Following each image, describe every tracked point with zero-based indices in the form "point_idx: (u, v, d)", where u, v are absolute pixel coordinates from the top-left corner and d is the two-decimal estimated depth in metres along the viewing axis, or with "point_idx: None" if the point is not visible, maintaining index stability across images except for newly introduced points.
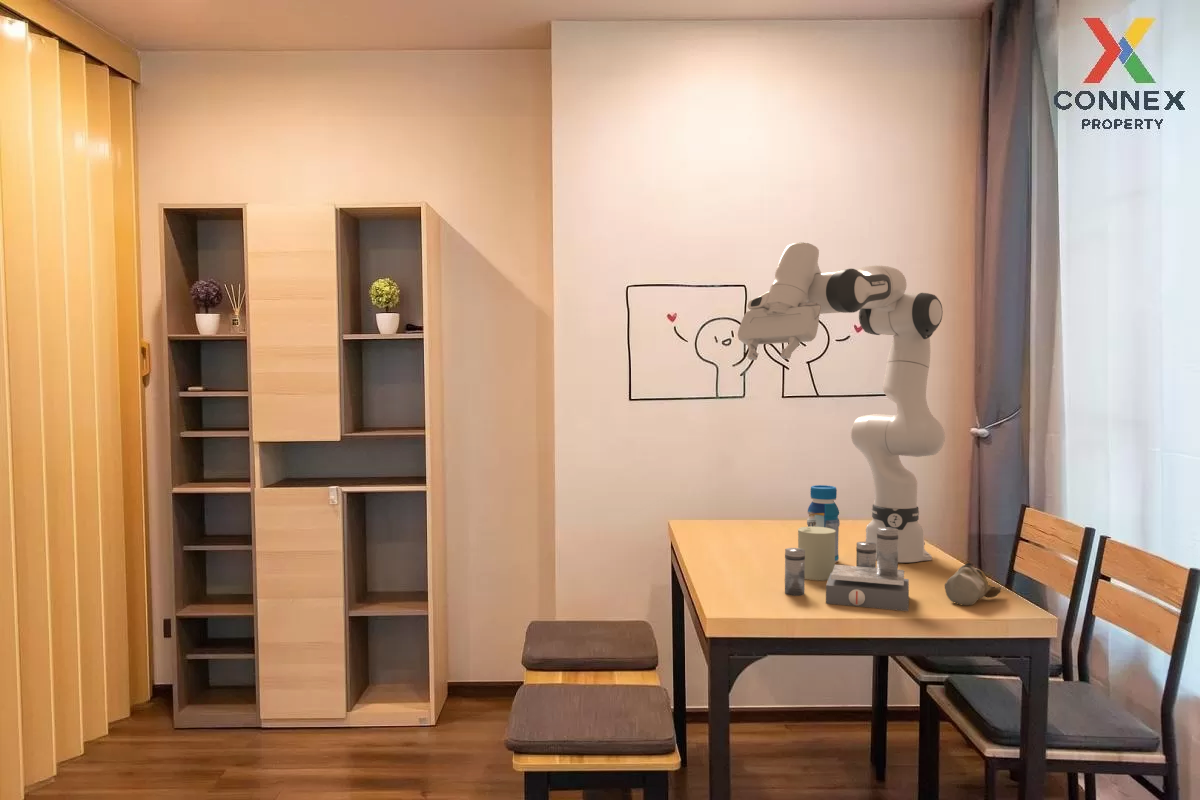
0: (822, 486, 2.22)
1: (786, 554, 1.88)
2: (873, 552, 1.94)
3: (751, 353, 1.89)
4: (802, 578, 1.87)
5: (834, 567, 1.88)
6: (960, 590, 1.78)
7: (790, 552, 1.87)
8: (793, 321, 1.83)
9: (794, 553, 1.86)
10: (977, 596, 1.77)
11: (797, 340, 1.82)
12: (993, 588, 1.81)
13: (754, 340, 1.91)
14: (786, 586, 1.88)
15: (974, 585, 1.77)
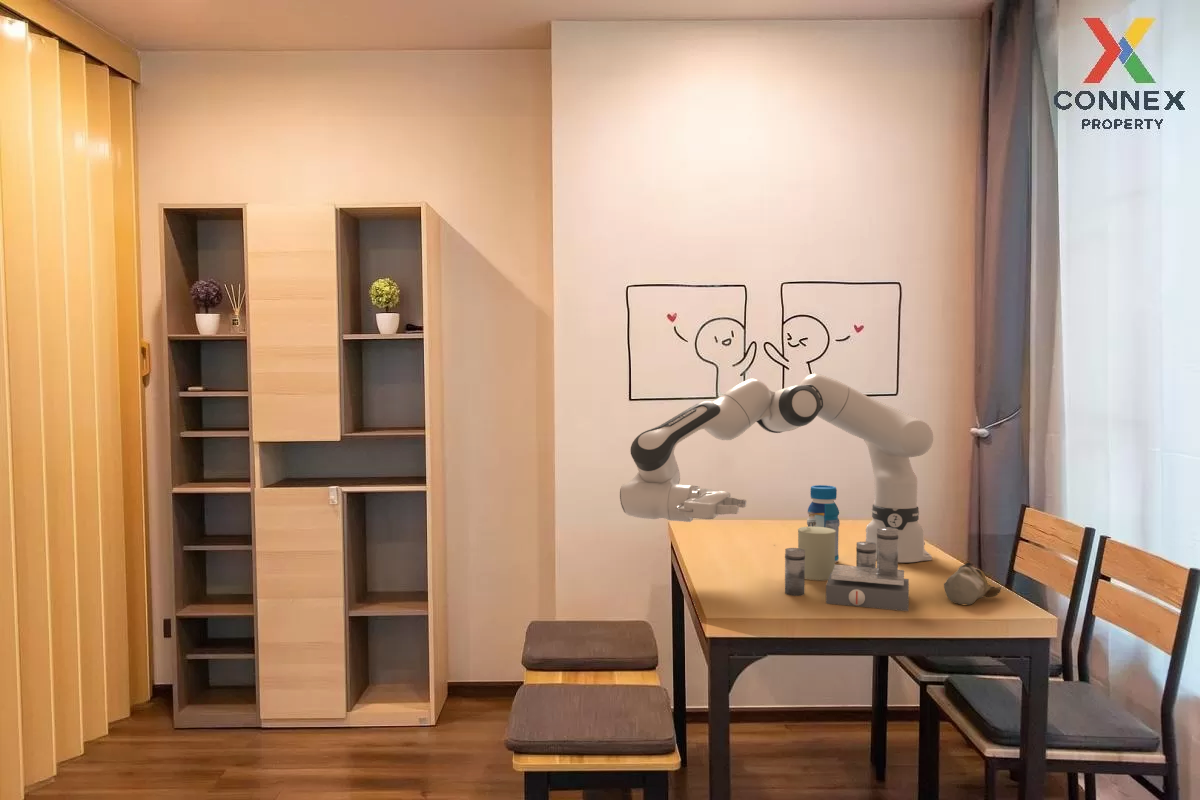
0: (822, 486, 2.22)
1: (786, 554, 1.88)
2: (873, 552, 1.94)
3: None
4: (802, 578, 1.87)
5: (834, 567, 1.88)
6: (959, 590, 1.78)
7: (790, 552, 1.87)
8: None
9: (794, 553, 1.86)
10: (976, 596, 1.78)
11: (717, 508, 1.88)
12: (993, 588, 1.81)
13: (727, 504, 1.99)
14: (786, 586, 1.88)
15: (973, 584, 1.78)
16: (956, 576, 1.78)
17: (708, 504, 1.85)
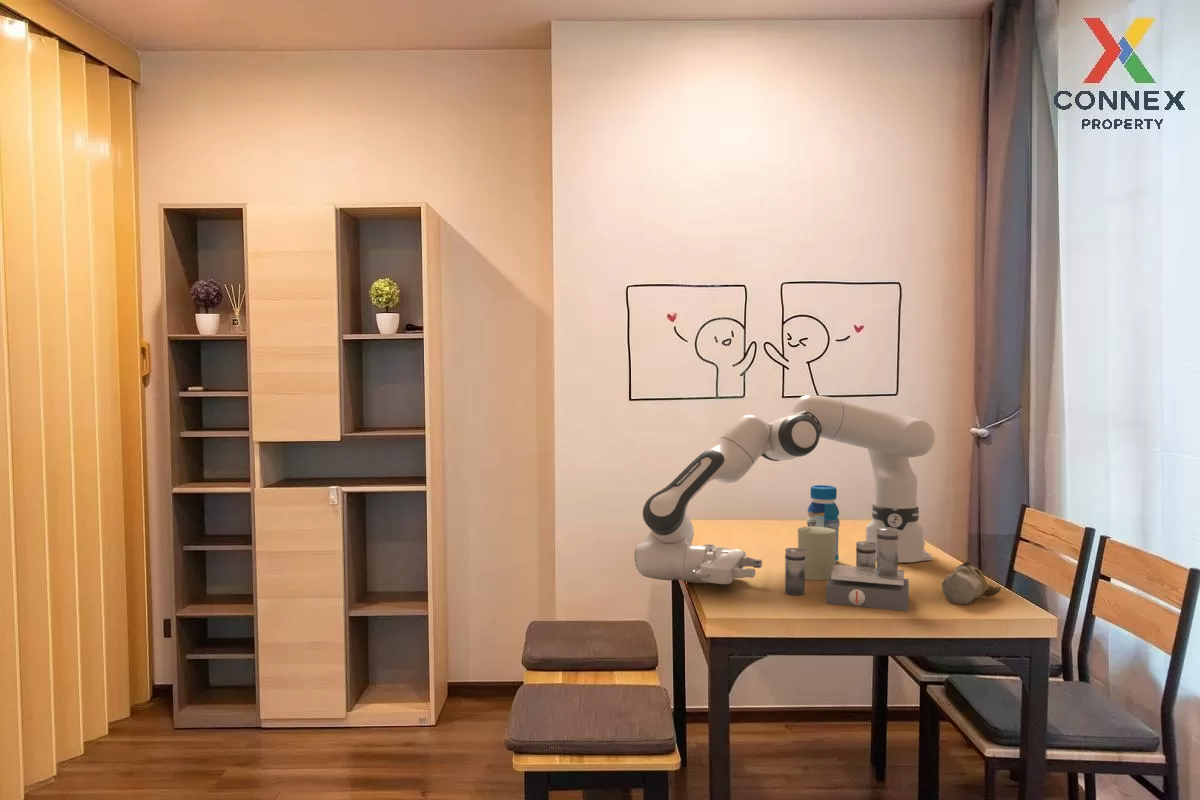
0: (822, 486, 2.22)
1: (786, 554, 1.88)
2: (873, 552, 1.94)
3: None
4: (802, 578, 1.87)
5: (834, 567, 1.88)
6: (956, 589, 1.79)
7: (790, 552, 1.87)
8: None
9: (794, 553, 1.86)
10: (973, 595, 1.78)
11: (734, 572, 1.87)
12: (991, 587, 1.82)
13: (743, 564, 1.98)
14: (786, 586, 1.88)
15: (970, 584, 1.78)
16: (953, 575, 1.79)
17: (724, 569, 1.85)
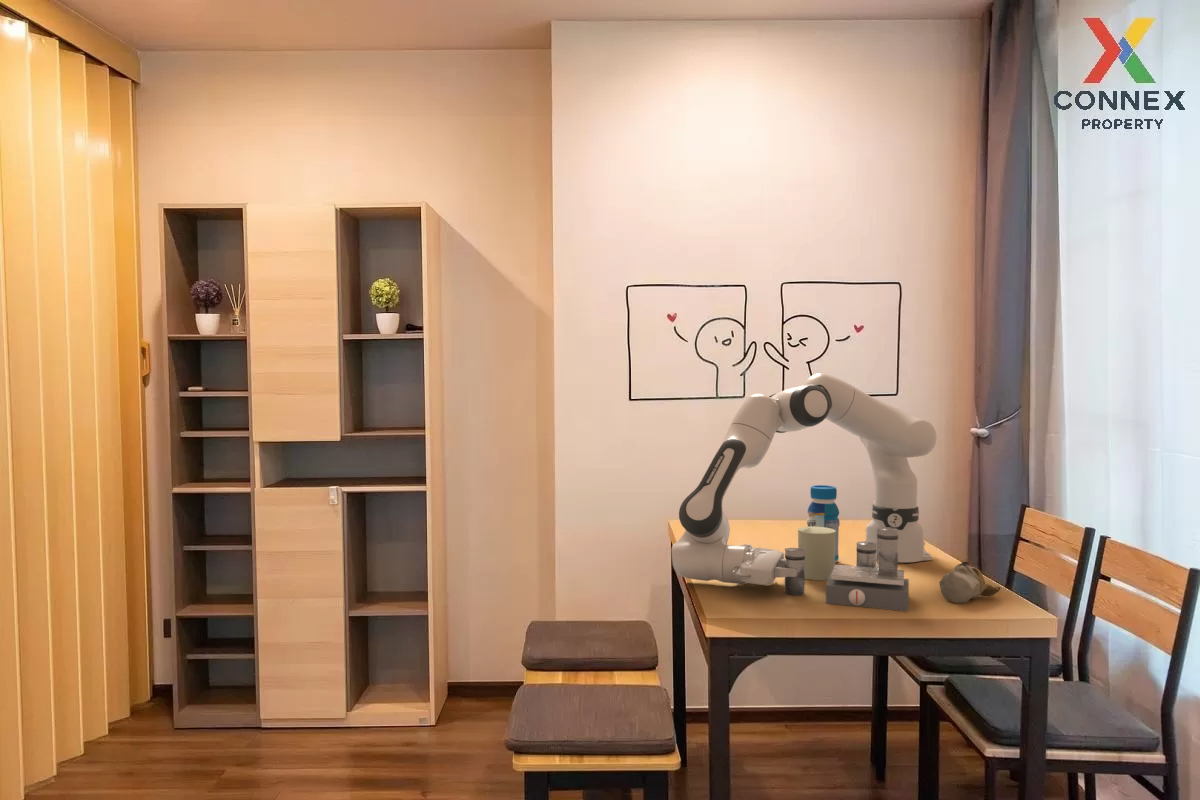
0: (822, 486, 2.22)
1: (786, 554, 1.88)
2: (873, 552, 1.93)
3: None
4: (802, 578, 1.87)
5: (834, 567, 1.88)
6: (953, 588, 1.80)
7: (790, 552, 1.87)
8: None
9: (794, 553, 1.86)
10: (970, 594, 1.79)
11: (776, 571, 1.86)
12: (989, 587, 1.82)
13: (780, 567, 1.93)
14: (786, 586, 1.88)
15: (967, 583, 1.79)
16: (950, 574, 1.80)
17: (766, 570, 1.81)
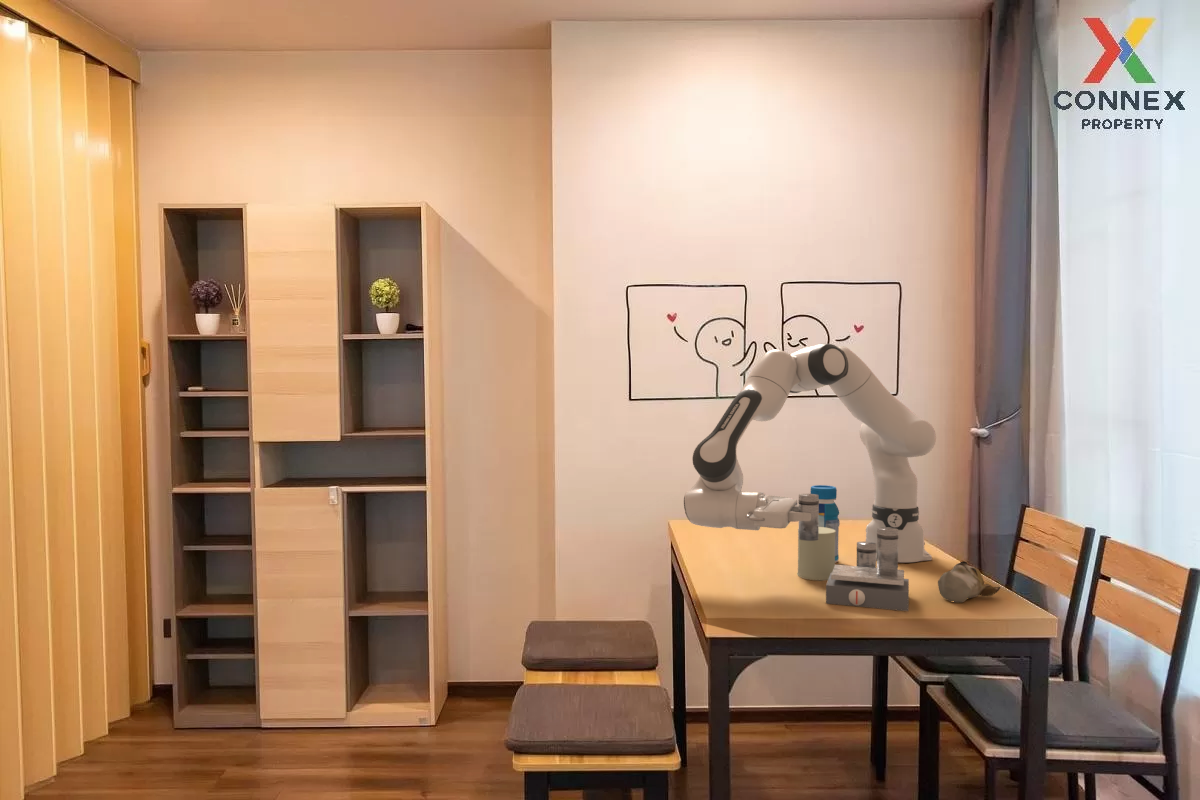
0: (822, 486, 2.22)
1: (800, 499, 1.87)
2: (873, 552, 1.94)
3: None
4: (816, 523, 1.86)
5: (834, 567, 1.88)
6: (950, 587, 1.80)
7: (804, 497, 1.86)
8: None
9: (808, 498, 1.85)
10: (967, 594, 1.79)
11: (790, 516, 1.84)
12: (988, 587, 1.82)
13: None
14: (800, 532, 1.87)
15: (964, 582, 1.79)
16: (947, 574, 1.80)
17: (780, 513, 1.80)
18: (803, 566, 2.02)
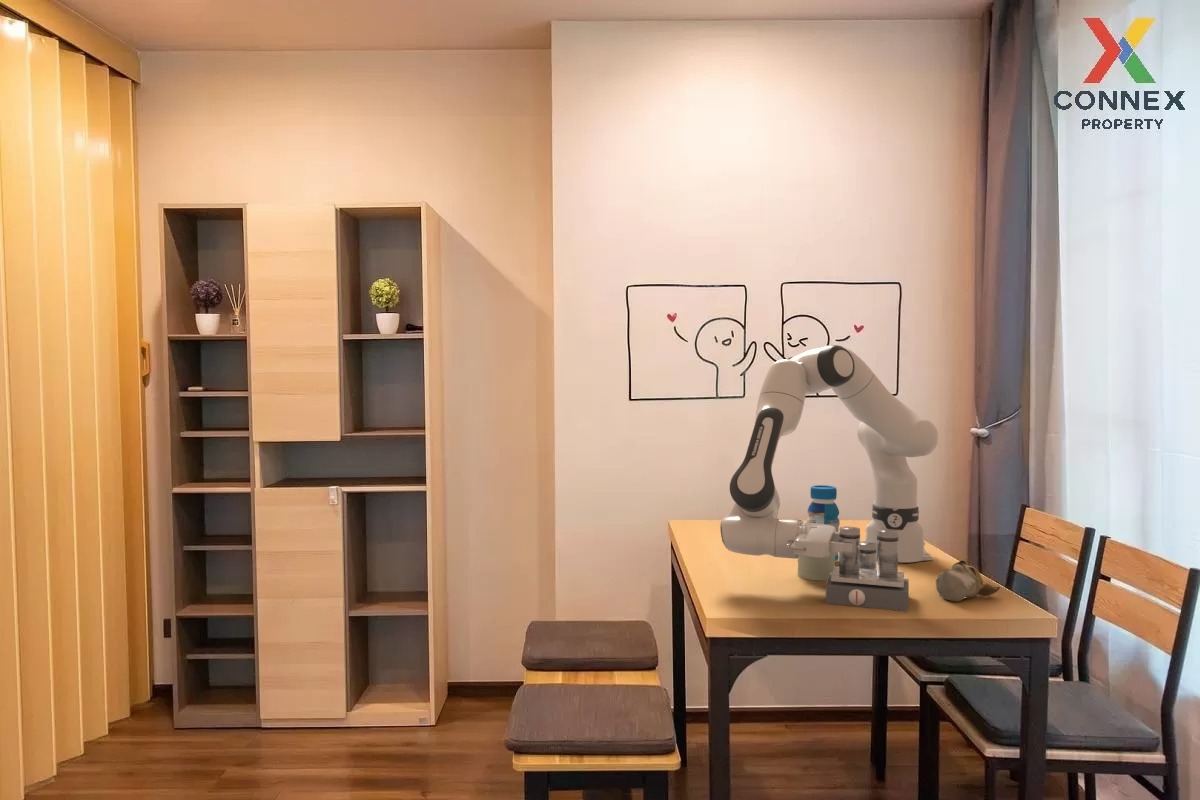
0: (822, 486, 2.22)
1: (841, 533, 1.84)
2: (873, 552, 1.93)
3: None
4: (857, 557, 1.83)
5: (834, 569, 1.88)
6: (947, 586, 1.81)
7: (845, 530, 1.83)
8: None
9: (849, 531, 1.82)
10: (964, 593, 1.80)
11: (831, 546, 1.80)
12: (986, 586, 1.83)
13: (834, 540, 1.90)
14: (841, 565, 1.84)
15: (961, 582, 1.80)
16: (944, 572, 1.81)
17: (822, 542, 1.77)
18: (803, 566, 2.02)
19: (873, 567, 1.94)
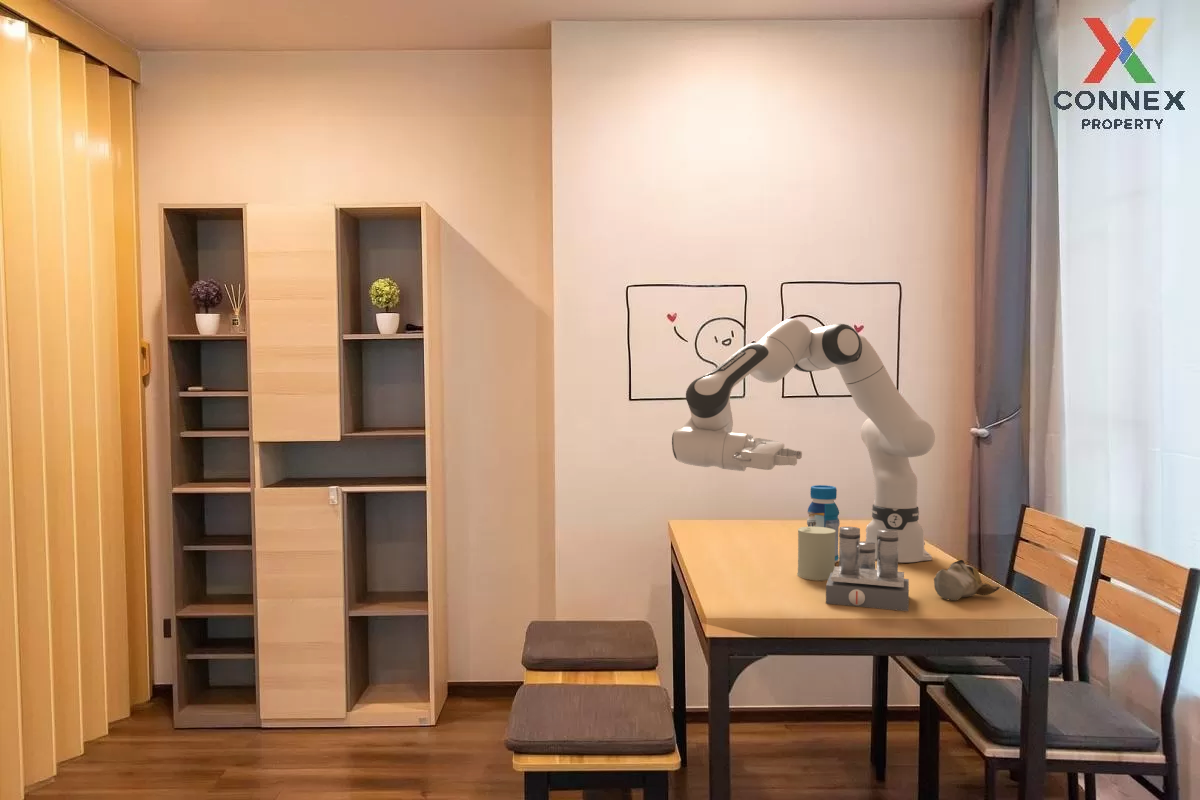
0: (822, 486, 2.22)
1: (841, 533, 1.84)
2: (872, 552, 1.94)
3: (797, 458, 1.92)
4: (857, 557, 1.83)
5: (834, 569, 1.88)
6: (944, 585, 1.82)
7: (845, 530, 1.83)
8: None
9: (849, 531, 1.82)
10: (961, 592, 1.81)
11: (776, 459, 1.83)
12: (984, 586, 1.83)
13: (782, 455, 1.94)
14: (841, 565, 1.84)
15: (958, 581, 1.81)
16: (941, 571, 1.82)
17: (767, 454, 1.80)
18: (803, 566, 2.02)
19: (872, 567, 1.94)
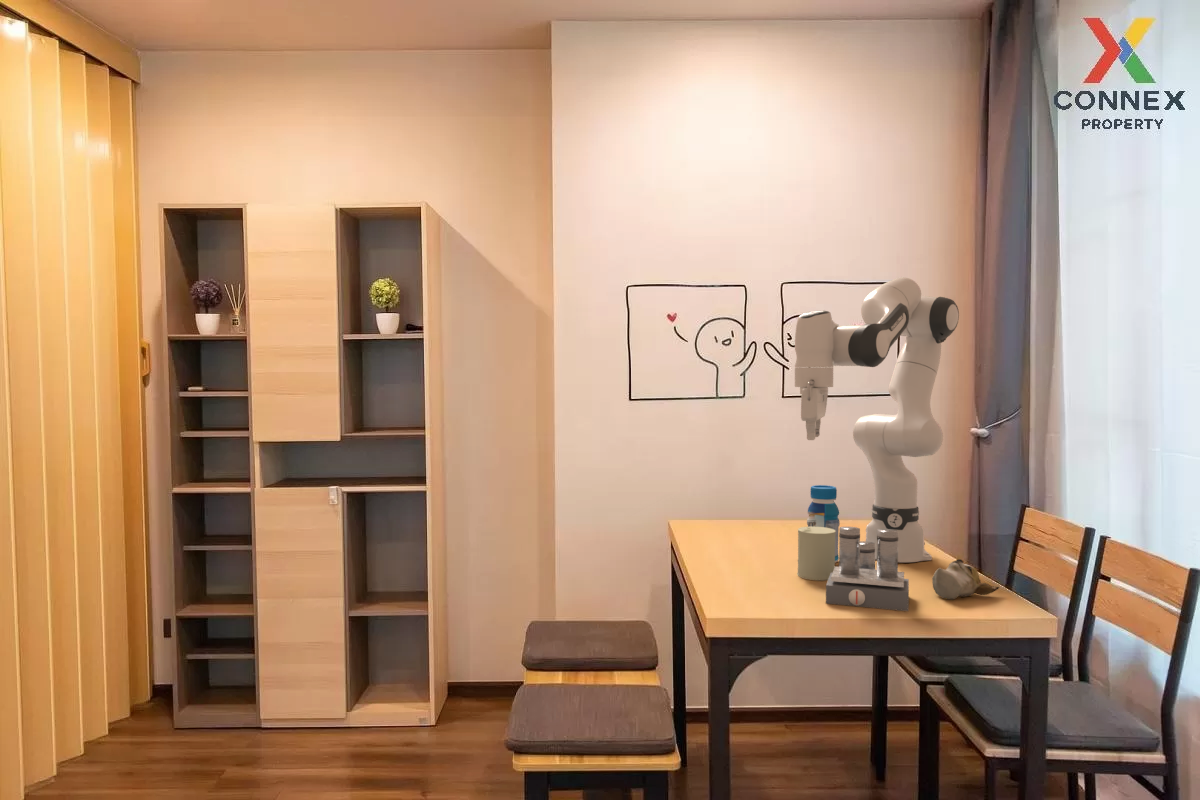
0: (822, 486, 2.22)
1: (841, 533, 1.84)
2: (871, 551, 1.94)
3: None
4: (857, 557, 1.83)
5: (834, 569, 1.88)
6: (941, 584, 1.83)
7: (845, 530, 1.83)
8: None
9: (849, 531, 1.82)
10: (958, 591, 1.82)
11: (811, 421, 1.88)
12: (982, 585, 1.84)
13: None
14: (841, 565, 1.84)
15: (955, 580, 1.82)
16: (938, 570, 1.83)
17: (816, 416, 1.84)
18: (803, 566, 2.02)
19: (872, 566, 1.94)
